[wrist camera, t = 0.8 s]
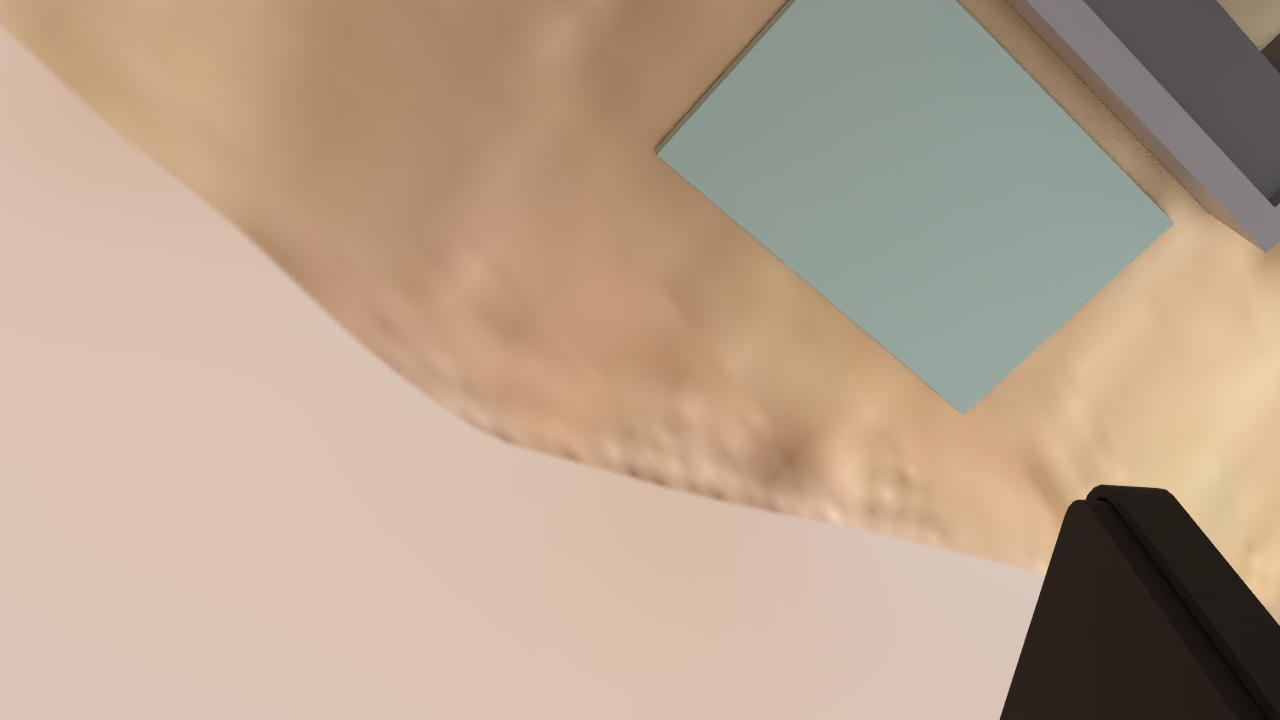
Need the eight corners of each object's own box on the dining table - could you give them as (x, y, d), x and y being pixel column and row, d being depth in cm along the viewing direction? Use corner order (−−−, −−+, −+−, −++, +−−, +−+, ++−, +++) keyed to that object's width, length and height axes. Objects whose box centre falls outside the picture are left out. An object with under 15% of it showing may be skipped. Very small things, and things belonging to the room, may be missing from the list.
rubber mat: (867, -88, 34) (872, -86, 34) (1165, 216, 39) (1174, 222, 38) (655, 149, 37) (656, 155, 36) (958, 406, 42) (963, 415, 41)
